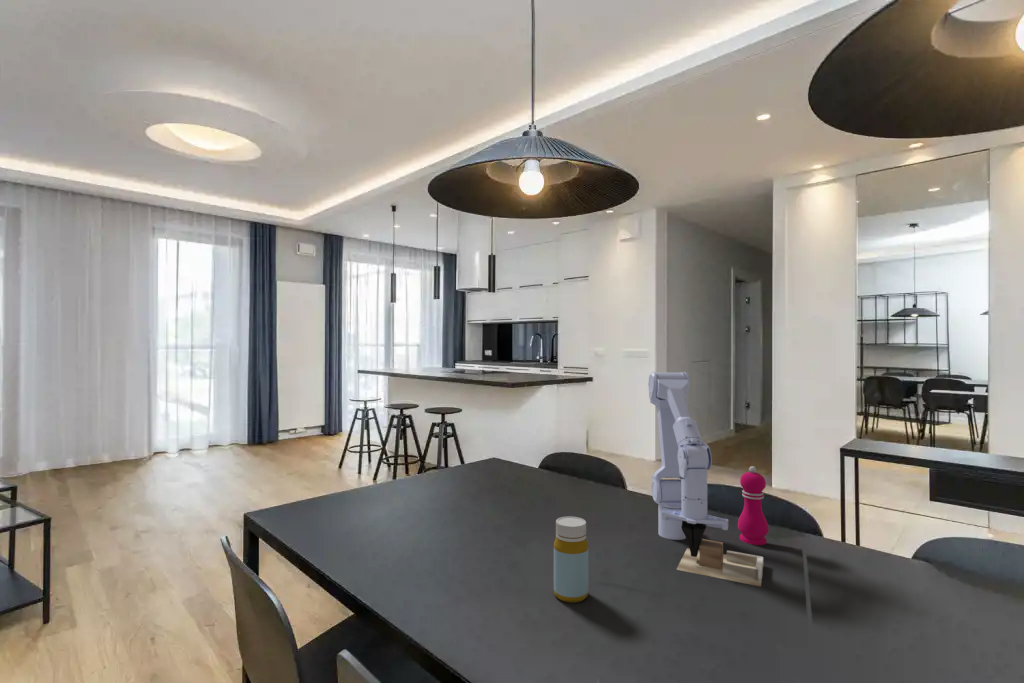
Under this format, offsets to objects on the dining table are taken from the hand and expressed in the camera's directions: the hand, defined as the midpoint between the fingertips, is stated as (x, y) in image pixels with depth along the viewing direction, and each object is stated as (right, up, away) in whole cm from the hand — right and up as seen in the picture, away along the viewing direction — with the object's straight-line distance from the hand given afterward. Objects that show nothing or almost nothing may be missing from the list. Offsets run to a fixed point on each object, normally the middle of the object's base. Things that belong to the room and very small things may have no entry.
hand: (694, 555), depth 119 cm
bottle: (-30, -2, -15) cm, 34 cm away
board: (+5, -2, -3) cm, 6 cm away
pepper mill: (+20, -3, +13) cm, 24 cm away
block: (+3, -1, -2) cm, 4 cm away
